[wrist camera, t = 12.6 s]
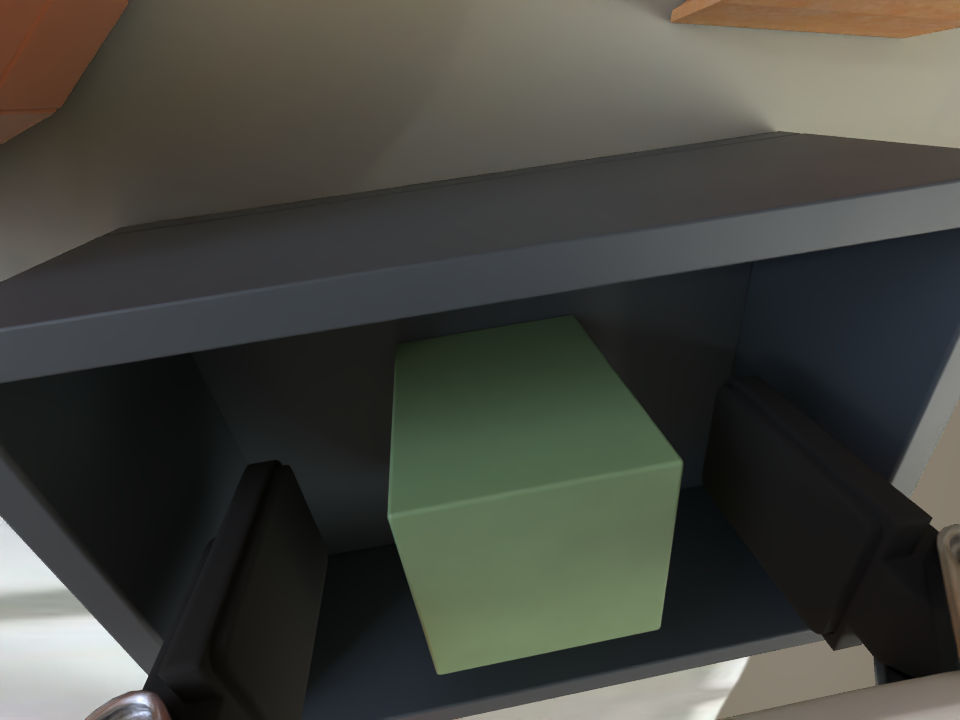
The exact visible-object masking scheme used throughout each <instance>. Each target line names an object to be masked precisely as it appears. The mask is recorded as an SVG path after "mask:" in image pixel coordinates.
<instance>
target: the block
mask: <svg viewBox="0 0 960 720" xmlns="http://www.w3.org/2000/svg"><path fill="white" fill-rule="evenodd" d="M682 472H683V461H682V459H681V457H680V456H679V455H678V453H677V452H676V451H675V449H674V448H673V447H672V445H671V444H670V443H669V441H668V440H667V439H666V437H665V436H664V435H663V433H662V432H661V431H660V429H659V428H658V427H657V425H656V424H655V423H654V421H653V420H652V419H651V417H650V416H649V415H648V413H647V412H646V411H645V409H644V408H643V407H642V405H641V404H640V403H639V402H638V400H637V399H636V398H635V396H634V395H633V394H632V392H631V391H630V390H629V388H628V387H627V386H626V384H625V383H624V382H623V380H622V379H621V378H620V376H619V375H618V374H617V372H616V371H615V370H614V368H613V367H612V366H611V364H610V363H609V362H608V360H607V359H606V358H605V356H604V355H603V354H602V352H601V351H600V350H599V348H598V347H597V346H596V344H595V343H594V342H593V340H592V339H591V338H590V336H589V335H588V334H587V332H586V331H585V330H584V328H583V327H582V326H581V324H580V323H579V322H578V320H577V319H576V318H575V316H574V315H567V316H561V317H555V318H549V319H543V320H537V321H531V322H525V323H519V324H513V325H507V326H501V327H495V328H489V329H483V330H476V331H470V332H464V333H458V334H452V335H446V336H440V337H434V338H428V339H422V340H416V341H410V342H404V343H398V344H396V349H395V370H394V390H393V411H392V432H391V452H390V473H389V493H388V514H387V518H388V521H389V524H390V527H391V530H392V534H393V537H394V540H395V543H396V546H397V549H398V553H399V556H400V559H401V562H402V565H403V568H404V572H405V575H406V578H407V581H408V584H409V587H410V591H411V594H412V597H413V600H414V603H415V606H416V610H417V613H418V616H419V619H420V622H421V625H422V629H423V632H424V635H425V638H426V641H427V644H428V648H429V651H430V654H431V657H432V660H433V663H434V667H435V670H436V672H437V674H439V675H442V674H447V673H452V672H456V671H461V670H466V669H471V668H476V667H480V666H485V665H490V664H495V663H500V662H504V661H509V660H514V659H519V658H524V657H529V656H533V655H538V654H543V653H548V652H553V651H557V650H562V649H567V648H572V647H577V646H581V645H586V644H591V643H596V642H601V641H605V640H610V639H615V638H620V637H625V636H629V635H634V634H639V633H644V632H649V631H654V630H658V629H659V628H660V626H661V619H662V612H663V605H664V598H665V591H666V584H667V577H668V570H669V563H670V556H671V549H672V542H673V535H674V528H675V521H676V514H677V507H678V500H679V493H680V486H681V479H682Z"/></svg>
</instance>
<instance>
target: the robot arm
mask: <svg viewBox="0 0 960 720" xmlns="http://www.w3.org/2000/svg"><path fill="white" fill-rule="evenodd" d="M702 482H703V486H704V488H705V490H706V491H707V493H708V494H709V496H710V497H711V498H712V500H713V501H714V502H715V504H716V505H717V506H718V508H719V509H720V510H721V512H722V513H723V514H724V516H725V517H726V518H727V520H728V521H729V522H730V524H731V525H732V526H733V528H734V529H735V530H736V532H737V533H738V534H739V536H740V537H741V538H742V540H743V541H744V542H745V544H746V545H747V546H748V548H749V549H750V550H751V552H752V553H753V554H754V556H755V557H756V558H757V560H758V561H759V562H760V564H761V565H762V566H763V568H764V569H765V570H766V572H767V573H768V574H769V576H770V577H771V578H772V580H773V581H774V582H775V584H776V585H777V586H778V588H779V589H780V590H781V592H782V593H783V595H784V596H785V597H786V599H787V600H788V601H789V603H790V604H791V605H792V607H793V608H794V609H795V611H796V612H797V613H798V615H799V616H800V617H801V619H802V620H803V621H804V623H805V624H806V625H807V626H808V627H809V629H810V630H812V631H813V632H814V633H816V634H821V635H822V636H823V638H824V639H825V640H826V641H827V643H828V644H829V645H830V647H831V648H832V649H833V651H835V650H840V649H844V648H849V647H853V646H858V645H861V644H862V643H863V644H864V645H865V647H866V648H867V649H868V650H869V651H870V653H871V654H872V655H873V656H874V671H875V686H873V687H868V688H863V689H858V690H853V691H849V692H844V693H839V694H835V695H830V696H825V697H821V698H816V699H812V700H807V701H802V702H798V703H793V704H788V705H784V706H779V707H775V708H770V709H765V710H761V711H756V712H751V713H747V714H742V715H738V716H733V717H729V718H724V719H719V720H960V524H954V525H951V526H948V527H945V528H943V529H942V530H941V531H940V532H938V531H937V530H936V529H935V528H934V527H932V526H931V525H930V524H929V523H930V521H931V519H932V517H931V516H930V515H928V514H927V513H926V512H925V511H924V510H922V509H921V508H920V507H919V506H917V505H916V504H915V503H914V502H912V501H911V500H910V499H909V498H907V497H906V496H905V495H904V494H903V493H901V492H900V491H899V490H898V489H896V488H895V487H894V486H893V485H891V484H890V483H889V482H888V481H887V480H885V479H884V478H883V477H882V476H880V475H879V474H878V473H877V472H875V471H874V470H873V469H872V468H870V467H869V466H868V465H867V464H866V463H864V462H863V461H862V460H861V459H859V458H858V457H857V456H856V455H854V454H853V453H852V452H851V451H850V450H848V449H847V448H846V447H845V446H843V445H842V444H841V443H840V442H838V441H837V440H836V439H835V438H834V437H832V436H831V435H830V434H829V433H827V432H826V431H825V430H824V429H822V428H821V427H820V426H819V425H817V424H816V423H815V422H814V421H813V420H811V419H810V418H809V417H808V416H806V415H805V414H804V413H803V412H801V411H800V410H799V409H798V408H797V407H795V406H794V405H793V404H792V403H790V402H789V401H788V400H787V399H785V398H784V397H783V396H782V395H780V394H779V393H778V392H777V391H776V390H774V389H773V388H772V387H771V386H769V385H768V384H767V383H766V382H764V381H763V380H762V379H761V378H759V377H758V376H756V375H749V376H743V377H738V378H732V379H728V380H726V381H725V382H724V383H723V386H722V387H720V388H719V389H718V390H717V393H716V397H715V403H714V409H713V414H712V420H711V426H710V431H709V437H708V443H707V448H706V454H705V459H704V465H703V471H702ZM327 563H328V556H327V549H326V546H325V544H324V541H323V539H322V537H321V534H320V532H319V530H318V528H317V525H316V523H315V521H314V518H313V516H312V514H311V512H310V509H309V507H308V505H307V502H306V500H305V498H304V496H303V493H302V491H301V489H300V486H299V484H298V482H297V480H296V477H295V475H294V473H293V470H292V468H291V467H290V466H289V465H282V463H281V462H280V461H279V460H271V461H265V462H260V463H254V464H249V465H248V466H247V467H246V468H245V470H244V472H243V475H242V477H241V479H240V482H239V484H238V486H237V489H236V491H235V493H234V496H233V498H232V500H231V503H230V505H229V507H228V510H227V512H226V514H225V517H224V519H223V521H222V524H221V526H220V528H219V531H218V533H217V535H216V536H215V537H213V538H212V539H211V540H210V541H209V542H208V544H207V546H206V548H205V549H204V552H203V554H202V556H201V558H200V561H199V563H198V565H197V567H196V570H195V572H194V574H193V577H192V579H191V581H190V583H189V586H188V588H187V590H186V592H185V595H184V597H183V599H182V601H181V604H180V606H179V608H178V610H177V613H176V615H175V617H174V620H173V622H172V624H171V626H170V629H169V631H168V633H167V635H166V638H165V640H164V642H163V644H162V647H161V649H160V651H159V653H158V656H157V658H156V660H155V663H154V665H153V667H152V669H151V672H150V674H149V676H148V678H147V681H146V683H145V685H144V687H143V690H139V691H131V692H128V693H125V694H123V695H120V696H118V697H115V698H113V699H111V700H110V701H108V702H107V703H105V704H104V705H102V706H101V707H99V708H98V709H96V710H95V711H94V712H93V713H91V714H90V715H89V716H88V717H87V718H86V719H85V720H301V718H302V712H303V707H304V701H305V695H306V689H307V683H308V677H309V671H310V665H311V659H312V653H313V647H314V641H315V635H316V629H317V623H318V617H319V611H320V605H321V599H322V594H323V588H324V582H325V576H326V570H327Z"/></svg>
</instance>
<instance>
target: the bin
mask: <svg viewBox="0 0 960 720" xmlns="http://www.w3.org/2000/svg"><path fill="white" fill-rule="evenodd" d="M567 315H574V316H575V318H576V319H577V320H578V322H579V323H580V324H581V326H582V327H583V328H584V330H585V331H586V332H587V334H588V335H589V336H590V338H591V339H592V340H593V342H594V343H595V344H596V346H597V347H598V348H599V350H600V351H601V352H602V354H603V355H604V356H605V358H606V359H607V360H608V362H609V363H610V364H611V366H612V367H613V368H614V370H615V371H616V372H617V374H618V375H619V376H620V378H621V379H622V380H623V382H624V383H625V384H626V386H627V387H628V388H629V390H630V391H631V392H632V394H633V395H634V396H635V398H636V399H637V400H638V402H639V403H640V404H641V405H642V407H643V408H644V409H645V411H646V412H647V413H648V415H649V416H650V417H651V419H652V420H653V421H654V423H655V424H656V425H657V427H658V428H659V429H660V431H661V432H662V433H663V435H664V436H665V437H666V439H667V440H668V441H669V443H670V444H671V445H672V447H673V448H674V449H675V451H676V452H677V453H678V455H679V456H680V457H681V459H682V461H683V472H682V479H681V486H680V493H679V500H678V507H677V514H676V521H675V528H674V535H673V542H672V549H671V556H670V563H669V570H668V577H667V584H666V591H665V598H664V605H663V612H662V619H661V626H660V628H659V629H658V630H654V631H649V632H644V633H639V634H634V635H629V636H625V637H620V638H615V639H610V640H605V641H601V642H596V643H591V644H586V645H581V646H577V647H572V648H567V649H562V650H557V651H553V652H548V653H543V654H538V655H533V656H529V657H524V658H519V659H514V660H509V661H504V662H500V663H495V664H490V665H485V666H480V667H476V668H471V669H466V670H461V671H456V672H452V673H447V674H442V675H439V674H437V672H436V670H435V667H434V663H433V660H432V657H431V654H430V651H429V648H428V644H427V641H426V638H425V635H424V632H423V629H422V625H421V622H420V619H419V616H418V613H417V610H416V606H415V603H414V600H413V597H412V594H411V591H410V587H409V584H408V581H407V578H406V575H405V572H404V568H403V565H402V562H401V559H400V556H399V553H398V549H397V546H396V543H395V540H394V537H393V534H392V530H391V527H390V524H389V521H388V518H387V514H388V493H389V473H390V452H391V432H392V411H393V390H394V370H395V349H396V344H398V343H404V342H410V341H416V340H422V339H428V338H434V337H440V336H446V335H452V334H458V333H464V332H470V331H476V330H483V329H489V328H495V327H501V326H507V325H513V324H519V323H525V322H531V321H537V320H543V319H549V318H555V317H561V316H567ZM749 375H756V376H758V377H759V378H761V379H762V380H763V381H764V382H766V383H767V384H768V385H769V386H771V387H772V388H773V389H774V390H776V391H777V392H778V393H779V394H780V395H782V396H783V397H784V398H785V399H787V400H788V401H789V402H790V403H792V404H793V405H794V406H795V407H797V408H798V409H799V410H800V411H801V412H803V413H804V414H805V415H806V416H808V417H809V418H810V419H811V420H813V421H814V422H815V423H816V424H817V425H819V426H820V427H821V428H822V429H824V430H825V431H826V432H827V433H829V434H830V435H831V436H832V437H834V438H835V439H836V440H837V441H838V442H840V443H841V444H842V445H843V446H845V447H846V448H847V449H848V450H850V451H851V452H852V453H853V454H854V455H856V456H857V457H858V458H859V459H861V460H862V461H863V462H864V463H866V464H867V465H868V466H869V467H870V468H872V469H873V470H874V471H875V472H877V473H878V474H879V475H880V476H882V477H883V478H884V479H885V480H887V481H888V482H889V483H890V484H891V485H893V486H894V487H895V488H896V489H898V490H899V491H900V492H901V493H903V494H904V495H905V496H906V497H907V498H909V499H910V497H911V495H912V494H913V492H914V490H915V487H916V486H917V483H918V482H919V480H920V477H921V476H922V474H923V472H924V470H925V468H926V466H927V463H928V461H929V459H930V458H931V456H932V454H933V452H934V450H935V447H936V446H937V444H938V442H939V439H940V437H941V436H942V433H943V432H944V429H945V427H946V426H947V424H948V422H949V420H950V417H951V416H952V414H953V411H954V409H955V408H956V406H957V404H958V402H959V400H960V149H958V148H948V147H938V146H927V145H917V144H907V143H896V142H886V141H876V140H866V139H855V138H845V137H835V136H825V135H814V134H800V133H791V132H781V131H778V132H772V133H765V134H758V135H751V136H744V137H737V138H730V139H724V140H717V141H710V142H703V143H696V144H689V145H683V146H676V147H669V148H662V149H655V150H648V151H641V152H635V153H628V154H621V155H614V156H607V157H600V158H594V159H587V160H580V161H573V162H566V163H559V164H552V165H546V166H539V167H532V168H525V169H518V170H511V171H505V172H498V173H491V174H484V175H477V176H470V177H463V178H457V179H450V180H443V181H436V182H429V183H422V184H416V185H409V186H402V187H395V188H388V189H381V190H374V191H368V192H361V193H354V194H347V195H340V196H333V197H327V198H320V199H313V200H306V201H299V202H292V203H285V204H279V205H272V206H265V207H258V208H251V209H244V210H238V211H231V212H224V213H217V214H210V215H203V216H196V217H190V218H183V219H176V220H169V221H162V222H155V223H149V224H142V225H135V226H128V227H121V228H118V229H116V230H114V231H112V232H110V233H107V234H105V235H103V236H102V237H98V238H96V239H94V240H91V241H89V242H87V243H85V244H83V245H80V246H78V247H76V248H74V249H72V250H70V251H67V252H65V253H63V254H61V255H59V256H57V257H54V258H52V259H50V260H48V261H46V262H44V263H41V264H39V265H37V266H35V267H33V268H30V269H28V270H26V271H24V272H22V273H20V274H17V275H15V276H13V277H11V278H9V279H7V280H4V281H2V282H0V516H1V517H2V518H3V519H4V520H5V521H6V523H7V524H8V525H9V526H10V527H11V528H12V529H13V530H14V531H15V532H16V533H17V534H18V535H19V537H20V538H21V539H22V540H23V541H24V542H25V543H26V544H27V545H28V546H29V547H30V548H31V549H32V551H33V552H34V553H35V554H36V555H37V556H38V557H39V558H40V559H41V560H42V561H43V562H44V563H45V565H46V566H47V567H48V568H49V569H50V570H51V571H52V572H53V573H54V574H55V575H56V576H57V577H58V579H59V580H60V581H61V582H62V583H63V584H64V585H65V586H66V587H67V588H68V589H69V590H70V592H71V593H72V594H73V595H74V596H75V597H76V598H77V599H78V600H79V601H80V602H81V603H82V604H83V606H84V607H85V608H86V609H87V610H88V611H89V612H90V613H91V614H92V615H93V616H94V617H95V618H96V620H97V621H98V622H99V623H100V624H101V625H102V626H103V627H104V628H105V629H106V630H107V631H108V632H109V634H110V635H111V636H112V637H113V638H114V639H115V640H116V641H117V642H118V643H119V644H120V645H121V646H122V648H123V649H124V650H125V651H126V652H127V653H128V654H129V655H130V656H131V657H132V658H133V659H134V660H135V662H136V663H137V664H138V665H139V666H140V667H141V668H142V669H143V670H144V671H145V672H146V673H147V674H148V676H149V674H150V672H151V669H152V667H153V665H154V663H155V660H156V658H157V656H158V653H159V651H160V649H161V647H162V644H163V642H164V640H165V638H166V635H167V633H168V631H169V629H170V626H171V624H172V622H173V620H174V617H175V615H176V613H177V610H178V608H179V606H180V604H181V601H182V599H183V597H184V595H185V592H186V590H187V588H188V586H189V583H190V581H191V579H192V577H193V574H194V572H195V570H196V567H197V565H198V563H199V561H200V558H201V556H202V554H203V552H204V549H205V548H206V546H207V544H208V542H209V541H210V540H211V539H212V538H213V537H215V536H216V535H217V533H218V531H219V528H220V526H221V524H222V521H223V519H224V517H225V514H226V512H227V510H228V507H229V505H230V503H231V500H232V498H233V496H234V493H235V491H236V489H237V486H238V484H239V482H240V479H241V477H242V475H243V472H244V470H245V468H246V467H247V466H248V465H249V464H254V463H260V462H265V461H271V460H279V461H280V462H281V463H282V465H289V466H290V467H291V468H292V470H293V473H294V475H295V477H296V480H297V482H298V484H299V486H300V489H301V491H302V493H303V496H304V498H305V500H306V502H307V505H308V507H309V509H310V512H311V514H312V516H313V518H314V521H315V523H316V525H317V528H318V530H319V532H320V534H321V537H322V539H323V541H324V544H325V546H326V549H327V556H328V563H327V570H326V576H325V582H324V588H323V594H322V599H321V605H320V611H319V617H318V623H317V629H316V635H315V641H314V647H313V653H312V659H311V665H310V671H309V677H308V683H307V689H306V695H305V701H304V707H303V712H302V718H301V720H453V719H458V718H462V717H467V716H472V715H476V714H481V713H486V712H490V711H495V710H500V709H504V708H509V707H514V706H518V705H523V704H528V703H532V702H537V701H542V700H547V699H551V698H556V697H561V696H565V695H570V694H575V693H579V692H584V691H589V690H593V689H598V688H603V687H607V686H612V685H617V684H621V683H626V682H631V681H635V680H640V679H645V678H649V677H654V676H659V675H663V674H668V673H673V672H677V671H682V670H687V669H691V668H696V667H701V666H706V665H710V664H715V663H720V662H724V661H729V660H734V659H738V658H743V657H748V656H752V655H756V654H762V653H766V652H771V651H776V650H780V649H785V648H789V647H794V646H799V645H804V644H808V643H813V642H818V641H822V640H825V639H824V638H823V636H822V635H821V634H816V633H814V632H813V631H812V630H810V629H809V627H808V626H807V625H806V624H805V623H804V621H803V620H802V619H801V617H800V616H799V615H798V613H797V612H796V611H795V609H794V608H793V607H792V605H791V604H790V603H789V601H788V600H787V599H786V597H785V596H784V595H783V593H782V592H781V590H780V589H779V588H778V586H777V585H776V584H775V582H774V581H773V580H772V578H771V577H770V576H769V574H768V573H767V572H766V570H765V569H764V568H763V566H762V565H761V564H760V562H759V561H758V560H757V558H756V557H755V556H754V554H753V553H752V552H751V550H750V549H749V548H748V546H747V545H746V544H745V542H744V541H743V540H742V538H741V537H740V536H739V534H738V533H737V532H736V530H735V529H734V528H733V526H732V525H731V524H730V522H729V521H728V520H727V518H726V517H725V516H724V514H723V513H722V512H721V510H720V509H719V508H718V506H717V505H716V504H715V502H714V501H713V500H712V498H711V497H710V496H709V494H708V493H707V491H706V490H705V488H704V486H703V482H702V471H703V465H704V459H705V454H706V448H707V443H708V437H709V431H710V426H711V420H712V414H713V409H714V403H715V397H716V393H717V390H718V389H719V388H720V387H722V386H723V383H724V382H725V381H726V380H728V379H732V378H738V377H743V376H749Z"/></svg>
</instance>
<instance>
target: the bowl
mask: <svg viewBox="0 0 960 720" xmlns="http://www.w3.org/2000/svg"><path fill="white" fill-rule="evenodd" d="M128 2H129V1H128V0H0V145H1V144H3V143H5V142H6V141H8V140H10V139H11V138H13V137H15V136H16V135H18V134H20V133H22V132H23V131H25V130H27V129H28V128H30V127H32V126H33V125H35V124H37V123H38V122H40V121H42V120H44V119H45V118H47V117H49V116H50V115H52V114H54V113H55V112H56V111H57V109H58V108H61V107H62V105H63V104H64V102H65V101H66V99H67V97H68V96H69V94H70V93H71V91H72V90H73V88H74V87H75V85H76V84H77V82H78V81H79V79H80V77H81V76H82V74H83V73H84V71H85V70H86V68H87V67H88V65H89V64H90V62H91V61H92V59H93V57H94V56H95V54H96V53H97V51H98V50H99V48H100V47H101V45H102V44H103V42H104V41H105V39H106V37H107V36H108V34H109V33H110V31H111V30H112V28H113V27H114V25H115V24H116V22H117V21H118V19H119V17H120V16H121V14H122V13H123V11H124V10H125V8H126V7H127V5H128Z"/></svg>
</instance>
